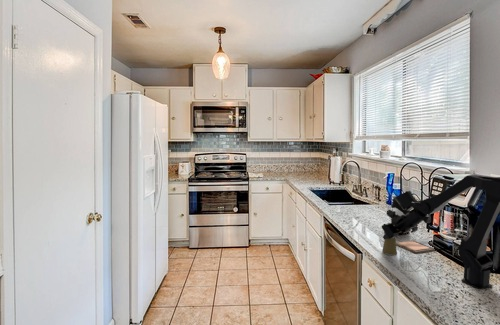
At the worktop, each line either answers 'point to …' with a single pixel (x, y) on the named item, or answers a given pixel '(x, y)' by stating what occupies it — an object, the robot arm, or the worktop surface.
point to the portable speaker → (397, 205)
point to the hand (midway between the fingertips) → (387, 237)
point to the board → (416, 246)
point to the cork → (389, 246)
